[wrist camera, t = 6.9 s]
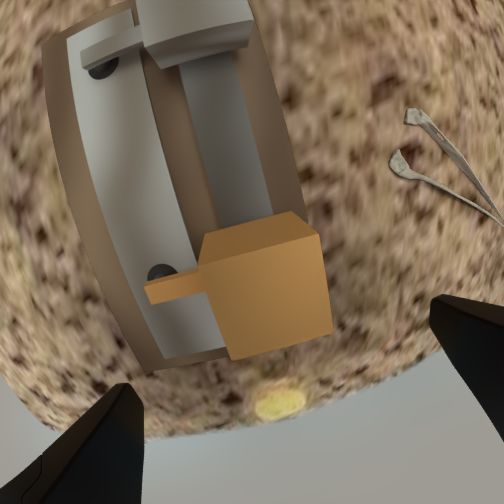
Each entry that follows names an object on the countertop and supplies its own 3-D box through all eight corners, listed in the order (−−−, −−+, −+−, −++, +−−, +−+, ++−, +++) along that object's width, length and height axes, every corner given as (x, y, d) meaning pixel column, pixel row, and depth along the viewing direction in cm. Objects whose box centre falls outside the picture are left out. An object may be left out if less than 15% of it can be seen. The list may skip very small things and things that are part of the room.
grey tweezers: (380, 168, 16) (399, 170, 14) (401, 104, 15) (421, 101, 13) (495, 252, 20) (509, 259, 18) (510, 209, 19) (524, 214, 17)
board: (236, -19, 11) (242, -73, 6) (320, 319, 18) (350, 373, 13) (50, 49, 11) (2, 25, 6) (148, 360, 18) (131, 418, 13)
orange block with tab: (287, 207, 14) (318, 233, 9) (302, 281, 15) (333, 332, 10) (140, 248, 14) (104, 291, 9) (167, 316, 15) (149, 376, 10)
